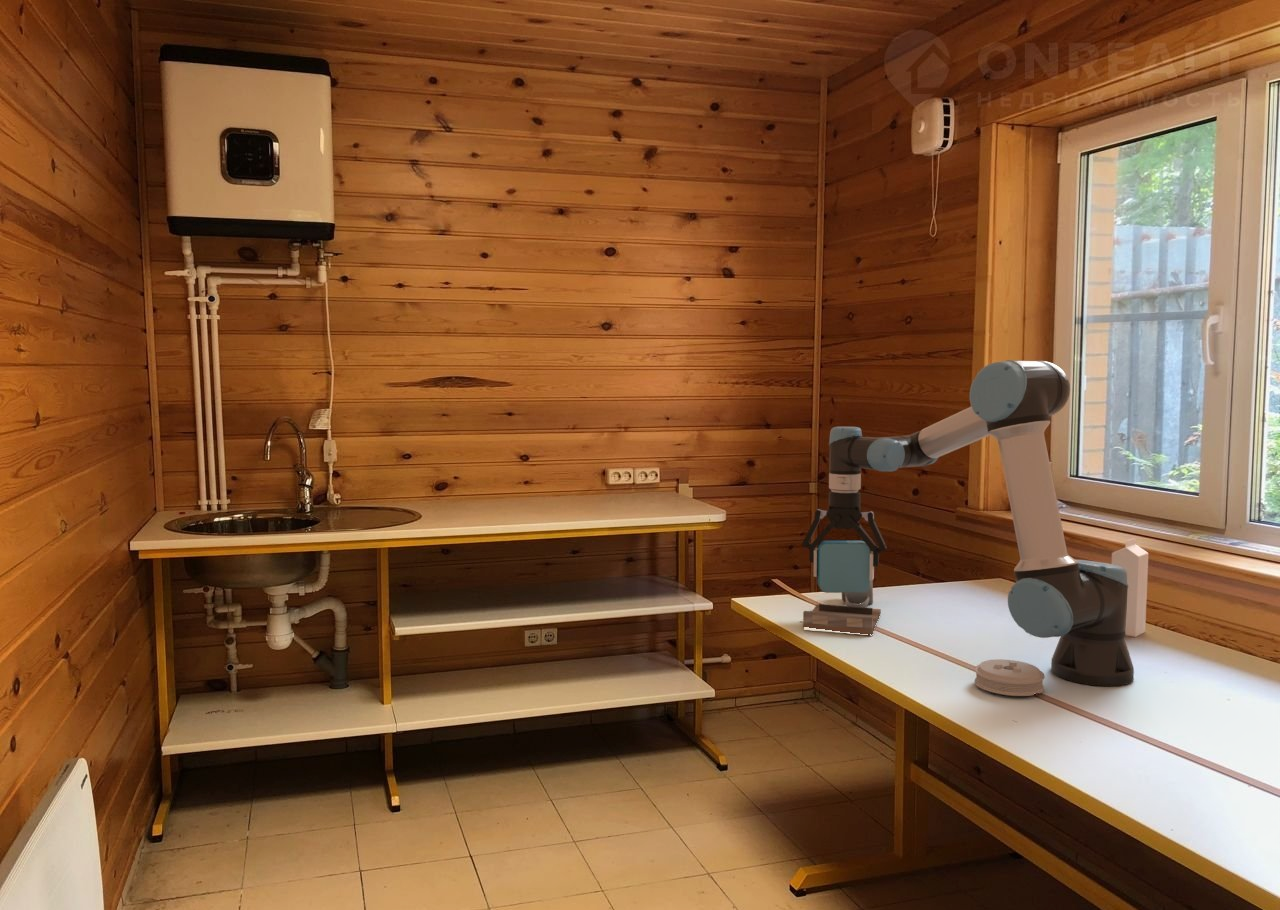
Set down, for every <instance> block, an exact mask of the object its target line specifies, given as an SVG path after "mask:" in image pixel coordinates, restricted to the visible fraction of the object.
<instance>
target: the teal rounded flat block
mask: <svg viewBox="0 0 1280 910" xmlns="http://www.w3.org/2000/svg"><path fill="white" fill-rule="evenodd" d="M817 549H818V576H817V585H818V587H819V589H820V590H821V592H823V593H826V594H828V593H829V594H831V593H832V594H833V593H834V594H837V593H838V594H842V593H864V592H867V591H868V590H869V588H870V581H869V572H870V553H871V549H870V548H869V546H868V545H867V544H866V543H865V541H864V540H821V541H820V542H819V544H818V545H817Z"/></svg>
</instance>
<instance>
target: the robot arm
mask: <svg viewBox="0 0 1280 910" xmlns="http://www.w3.org/2000/svg"><path fill="white" fill-rule="evenodd" d="M969 389H970V390H969V403H970V406H969V407H967V408H965V409H962V410H961V411H959V412H957V413H955V414H952V415H949V416H948V417H946V418H944V419H942V420H939V421H937V422H934V423H933V424H930V425H929V426H927V427H924V428H922V429H921V430H918V431H916V432H914V433H911V434H907V435H897V436H882V437H880V436H879V437H876V436H875V437H871V436H863V434H862V433H863V432H862V429H861V428H860V427H858V426H834V427H832V428H831V429H830V432H829V439H828V440H829V441H828V448H829V449H828V450H829V451H828V454H829V457H828V458H829V459H828V460H829V461H828V463H829V469H828V489H829V490H830V491H829V492H828V509H827V510H823V509H821V508H817V509H816V510H815V513H814V520H813V521H812V523H811V525H810V527H809V529H808V531H807V533H806V535H805V537H804V538H803V541H802V543H801V546H802V547H804V548H807V549H808V550H809V562H810V563H813V577H814V578H815V577H816V578H818V548H816V547H818V545H819V543H820V542H822V541H823V539H824V538H825V537H826V536H827V534H828V533H830V531H831V530H832V529H833V528H835V529H837V530H843V529H844V530H852V529H854V531H855V532H856V533H857V534H858V536H859V537H860V538H861V540H862V541H864V542H865V543H866V544H867V545H868V546H869V548H870V572H869V581H872V582H873V581H874V579H875V577H874V576H875V574H874V573H875V567H878V565H879V564H880V563H879V562H880V561H879V559H880V553H882V552H885V551H886V550H887V548H888V546H887V545H886V542H885V540H884V538H883V536H882V533H881V532H880V529H879V527H878V525H877V522H876V521H875V512H874V511H872V510H870V511H865V512H864V511H863V512H862V510H861V495H862V493H861V492H860V490H861V486H862V477H861V476H862V469H865V470H873V471H878V472H895V471H897V470H898V469H903V468H914V467H918V468H919V467H927V466H930V465H932V464H934V463H936V462H937V461H938V459H939V458H940V457H943V456H945V455H947V454H949V453H952V452H955V451H957V450H959V449H961V448H963V447H966V446H969V445H970V444H972V443H975V442H978V441H980V440H982V439H984V438H987V437H990V436H991V437H992V438H994V439H995V440H997V443H998V449H999V454H1000V458H1001V459H1000V460H1001V464H1002V469H1003V470H1002V471H1003V474H1004V479H1005V484H1006V491H1007V496H1008V500H1009V505H1010V506H1009V507H1010V511H1011V517H1012V521H1013V527H1014V532H1015V537H1016V538H1015V539H1016V543H1017V548H1018V549H1017V550H1018V552H1019V558H1020V559H1019V562H1018V563H1017V564H1016V566H1015V567H1014V569H1013V571H1014V577H1015V583H1014V584H1012V586H1011V588H1010V589H1011V590H1010V591H1009V592H1008V595H1007V606H1008V610H1009V613H1010V615H1011V617H1012V619H1013V621H1014V622H1015V623H1016V625H1017V626H1018V627H1019V628H1021V629H1022V630H1023V631H1024V632H1025V633H1027V634H1029V635H1030V636H1033V637H1036V638H1042V639H1043V638H1044V639H1045V638H1053V637H1054V638H1059V640H1058V642H1057V645H1056V647H1055V648H1054V649H1055V650H1054V652H1053V654H1052V656H1051V663H1050V664H1051V666H1050V669H1051V673H1052V674H1054V675H1056V676H1057V677H1059V678H1061V679H1064V680H1067V681H1069V682H1074V683H1079V684H1083V685H1090V686H1091V685H1092V686H1100V687H1101V686H1102V687H1117V686H1125V685H1128V684H1131V683H1132V682H1133V681H1134V679H1135V678H1134V675H1135V670H1134V665H1133V662H1132V658H1131V655H1130V652H1129V648H1128V645H1127V642H1126V635H1125V631H1126V612H1127V591H1128V584H1127V572H1126V570H1125V569H1124V568H1123V567H1120V566H1117V565H1113V564H1112V563H1107V562H1100V561H1093V560H1088V559H1087V560H1085V559H1075V558H1073V557H1072V556H1071V555H1069V553H1068V549H1067V545H1066V539H1065V535H1064V529H1063V523H1062V519H1061V515H1060V514H1061V513H1060V509H1059V504H1058V499H1057V494H1056V493H1057V492H1056V489H1055V484H1054V480H1053V474H1052V469H1051V468H1052V467H1051V463H1050V457H1049V453H1048V447H1047V442H1046V437H1045V431H1046V429H1047V428H1048V427H1049V425H1050V424H1051V420H1050V417H1052V416H1053V415H1056V414H1058V412H1060V411H1061V410H1063V409H1064V407H1066V404H1067V403H1068V401H1069V398H1070V395H1071V384H1070V381H1069V377H1068V376H1067V374H1066V373H1065V371H1064V370H1063V369H1062V368H1061V367H1059V366H1058V365H1056V364H1054V363H1052V362H1049V361H1046V360H1012V359H1011V360H1010V359H1007V360H1001V361H997V362H996V361H995V362H992V363H989V364H987V365H985V366H983V367H982V368H981V369H980V370H979V371H978V372H977V374H976V376H975V378H974V379H973V380H972V383H971V385H970V388H969ZM825 516H826V517H827V518H828V520H829V521H830V523H829V524H828V525H827V526H826V527H825V528H824V529H823V531H821V532H820V534H819V535H818V536H817V537H816V538H815V540H814V541H813V542H810V541H811V539H812V537H813V535H814V533H815V532H816V529H817V528H818V526H819V523H820V521H821V520H823V519H824V518H825ZM862 518H864V520H865V521H866V522H868V525H869V527H870V530H871V532H872V533H873V536H874V538H875V540H876V542H877V544H876V542H874V540H873V539H872V538H871V536H870V535H869V534H868V532H866V531H865V529H864V528H863V526H862V525H861V523H860V522H859V521H860V520H861V519H862Z"/></svg>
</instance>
